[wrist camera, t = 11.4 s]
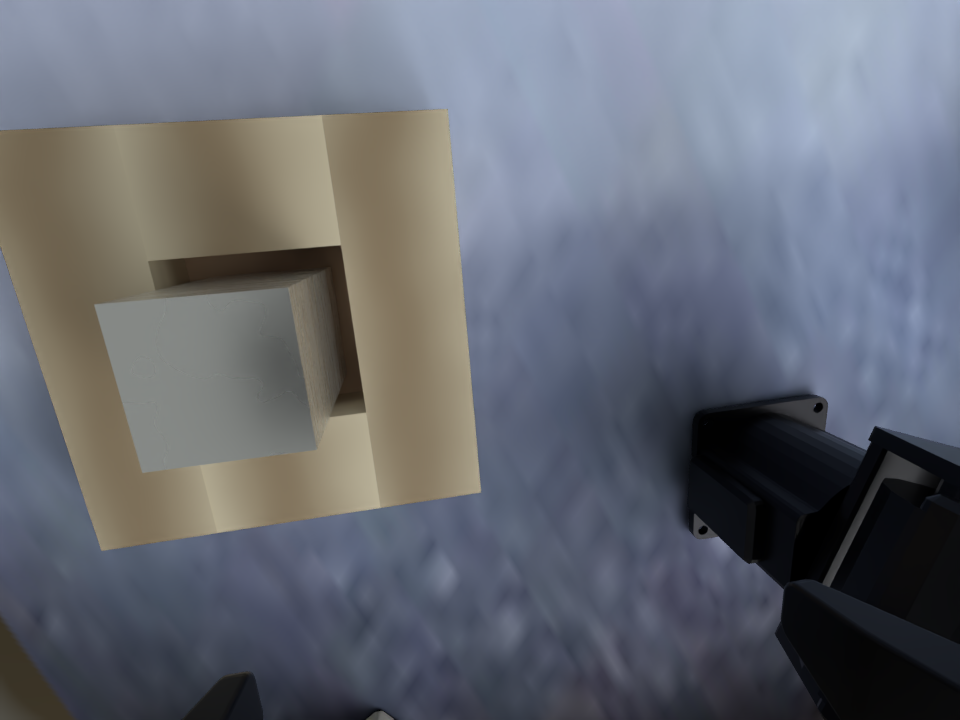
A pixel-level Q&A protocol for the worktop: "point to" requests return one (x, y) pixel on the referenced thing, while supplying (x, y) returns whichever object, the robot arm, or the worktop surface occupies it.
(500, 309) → the worktop surface
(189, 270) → the well block
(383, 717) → the cookie box
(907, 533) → the robot arm
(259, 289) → the grey rectangular block
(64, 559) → the worktop surface
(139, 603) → the worktop surface
